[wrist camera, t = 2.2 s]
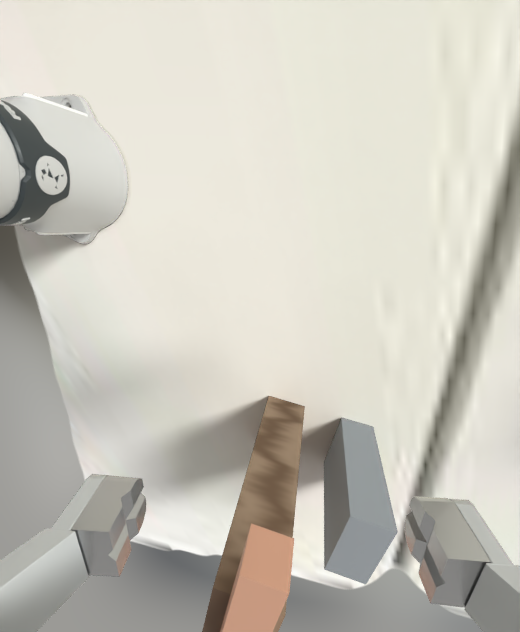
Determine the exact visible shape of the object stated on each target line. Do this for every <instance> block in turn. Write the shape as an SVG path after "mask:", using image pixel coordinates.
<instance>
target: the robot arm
mask: <svg viewBox="0 0 520 632" xmlns="http://www.w3.org/2000/svg"><path fill="white" fill-rule="evenodd" d="M70 105H71V108H70ZM127 194H128V176H127V170H126V166H125V163H124V160H123V157H122V155H121V152H120V150H119V148H118V147H117V145H116V143H115V142H114V140H113V139H112V138H111V136H110V135H109V134H108V133H107V132H106V131H105V130H104V129H103V128H102V127H101V125H100V124H99V123H98V122H97V120H96V119H95V116H94V114H93V112H92V110H91V108H90V106H89V104H88V103H87V101H86V100H85V99H84V98H83V97H81V96H78V95H74V94H72V95H60V96H47V97H38V96H35V95H32V94H28V93H23V95H22V96H12V97H6V98H1V99H0V225H2V226H13V225H23V226H24V228H25V230H28V231H32V232H36V233H37V234H39V235H64V236H66V237H68V238H70V239H72V240H74V241H76V242H78V243H81V244H88V243H90V242H91V241H92V240H93V239H94V237H95V236H96V234H97V233H98V231H100V230H101V229H103V228H105V227H107V226H108V225H110V224H112V223H113V222H114V221H115V220H116V219H117V218H118V217H119V215H120V214H121V212H122V210H123V208H124V206H125V203H126V199H127ZM143 487H144V486H143V482H142V479H140V478H129V477H119V476H109V475H97V474H92V475H91V476H89V477H88V478H87V479H86V480H85V482H84V483H83V484H82V486H81V487H80V489H79V490H78V491H77V493H76V494H75V496H74V497H73V498H72V500H71V501H70V503H69V504H68V505H67V507H66V508H65V510H64V511H63V512H62V514H61V515H60V516H59V518H58V519H57V521H56V522H55V524H54V525H53V526H52V528H51V529H45V530H43V531H41V532H40V533H39V534H37V535H36V536H34V537H33V538H32V539H30V540H28V541H27V542H26V543H24V544H23V545H21V546H20V547H18V548H17V549H16V550H14V551H13V552H11V553H10V554H9V555H7V556H6V557H4V558H3V559H1V560H0V632H37V631H38V629H40V628H41V627H42V625H43V624H44V623H45V622H46V621H47V620H48V619H49V618H50V617H51V616H52V615H53V614H54V613H55V612H56V611H57V610H58V609H59V608H60V607H61V606H62V605H63V604H64V603H65V602H66V601H67V600H68V599H69V598H70V597H71V596H72V594H73V593H74V592H75V591H76V590H77V589H78V588H79V587H80V586H81V585H82V584H83V583H84V582H85V581H86V580H87V579H88V578H89V576H88V575H93V576H112V577H119V576H120V574H121V572H122V570H123V568H124V565H125V563H126V561H127V558H128V556H129V554H130V551H131V545H130V540H131V539H132V538H133V537H134V536H136V535H137V534H138V533H139V531H140V528H141V526H142V523H143V520H144V516H145V512H146V498H145V496H144V495H143V494H142V493H141V491H142V489H143ZM409 506H410V508H411V510H412V512H411V513H409V514H408V515H407V516H406V519H405V524H404V526H405V536H406V540H407V544H408V547H409V549H410V552H411V554H412V555H413V556H414V558H415V559H416V560H417V561H418V562H419V563H420V569H419V575H420V578H421V581H422V583H423V586H424V588H425V591H426V593H427V596H428V598H429V601H430V603H431V604H439V605H448V606H456V607H465V611H466V612H467V613H468V614H469V616H470V617H471V618H472V619H473V620H474V621H475V623H476V624H477V625H478V626H479V627H480V629H481V630H482V631H483V632H520V566H518V565H514V564H513V563H512V561H511V560H510V558H509V557H508V555H507V554H506V552H505V551H504V549H503V548H502V546H501V545H500V543H499V542H498V540H497V539H496V537H495V536H494V534H493V533H492V532H491V530H490V529H489V527H488V526H487V524H486V523H485V521H484V520H483V518H482V517H481V515H480V514H479V512H478V511H477V509H476V508H475V506H474V505H473V504H472V503H471V502H470V501H469V500H459V499H448V498H432V497H413V498H412V499H411V501H410V505H409Z"/></svg>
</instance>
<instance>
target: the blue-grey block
mask: <svg viewBox="0 0 520 632" xmlns="http://www.w3.org/2000/svg"><path fill="white" fill-rule="evenodd" d="M396 534H397V528H396V523H395V519H394V515H393V510H392V506H391V502H390V497H389V493H388V489H387V484H386V480H385V476H384V472H383V467H382V463H381V459H380V454H379V450H378V446H377V441H376V437H375V433H374V428H373V427H372V426H368V425H365V424H362V423H358V422H355V421H352V420H348V419H345V418H341V420H340V423H339V425H338V428H337V430H336V433H335V436H334V438H333V441H332V443H331V446H330V448H329V451H328V453H327V456H326V459H325V461H324V569H325V570H328V571H331V572H333V573H336V574H339V575H342V576H344V577H347V578H350V579H353V580H355V581H358V582H361V583H364V584H366V583H367V582H368V580H369V578H370V577H371V575H372V573H373V572H374V570H375V569H376V567H377V565H378V564H379V562H380V560H381V559H382V557H383V555H384V554H385V552H386V550H387V549H388V547H389V545H390V544H391V542H392V540H393V539H394V537H395V535H396Z"/></svg>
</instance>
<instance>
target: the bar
mask: <svg viewBox="0 0 520 632" xmlns="http://www.w3.org/2000/svg"><path fill="white" fill-rule="evenodd" d="M293 545H294V538H291V537H288V536H285V535H283V534H280V533H277V532H274V531H271V530H268V529H266V528H263V527H260V526H257V525H254V524H252V523H251V526H250V529H249V533H248V536H247V540H246V543H245V547H244V550H243V554H242V557H241V560H240V564H239V567H238V571H237V574H236V578H235V581H234V585H233V588H232V592H231V595H230V598H229V602H228V605H227V609H226V612H225V616H224V619H223V623H222V626H221V630H220V632H273V630H274V628H275V625H276V623H277V621H278V618H279V616H280V614H281V611H282V609H283V607H284V605H285V602H286V600H287V597H288V595H289V591H290V579H291V568H292V556H293Z"/></svg>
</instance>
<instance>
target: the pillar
mask: <svg viewBox="0 0 520 632" xmlns="http://www.w3.org/2000/svg"><path fill="white" fill-rule="evenodd" d="M304 408H305V406H301V405H298V404H294V403H291V402H288V401H284V400H281V399H278V398H274V397H271V396H269V397H268V400H267V404H266V407H265V411H264V414H263V418H262V421H261V424H260V428H259V431H258V435H257V438H256V442H255V445H254V448H253V452H252V455H251V459H250V462H249V466H248V469H247V472H246V476H245V479H244V483H243V486H242V490H241V493H240V497H239V500H238V503H237V507H236V510H235V514H234V517H233V521H232V524H231V527H230V531H229V534H228V538H227V541H226V545H225V548H224V552H223V555H222V558H221V562H220V565H219V569H218V572H217V576H216V579H215V582H214V586H213V590H212V594H211V598H210V602H209V606H208V610H207V615H206V619H205V623H204V627H203V631H202V632H220V630H221V626H222V623H223V619H224V616H225V612H226V609H227V605H228V602H229V598H230V595H231V592H232V588H233V585H234V581H235V578H236V574H237V571H238V567H239V564H240V560H241V557H242V554H243V550H244V547H245V543H246V540H247V536H248V533H249V529H250V526H251V523H252V524H254V525H257V526H260V527H263V528H266V529H268V530H271V531H274V532H277V533H280V534H283V535H285V536H288V537H291V538H292V537H293V526H294V515H295V505H296V494H297V483H298V472H299V462H300V451H301V440H302V429H303V419H304ZM286 601H287V600H286ZM285 612H286V602H285V605H284V607H283V609H282V611H281V614H280V616H279V618H278V621H277V623H276V625H275V628H274V630H273V632H278V630H279V628H280V626H281V624H282V622H283V619H284V617H285Z"/></svg>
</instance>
